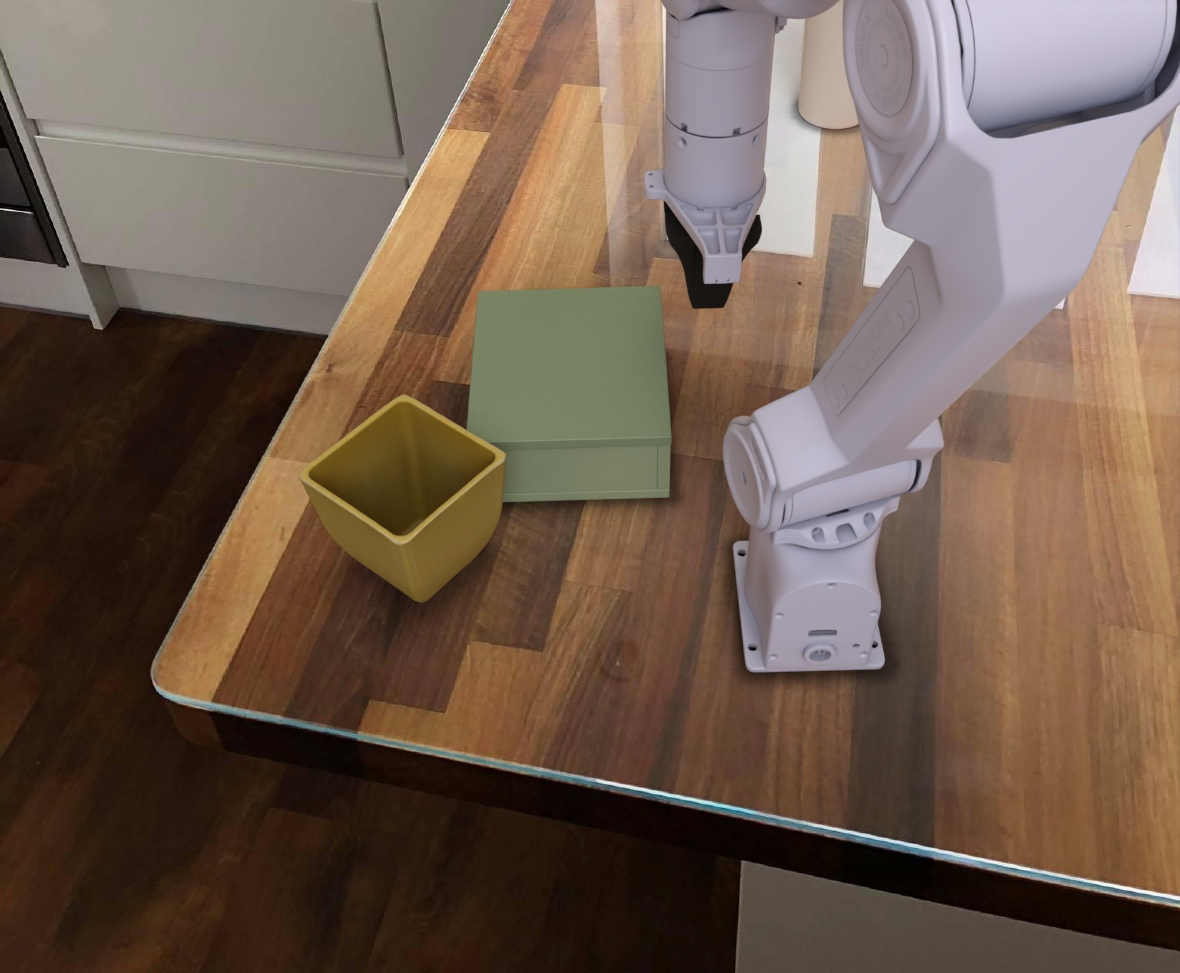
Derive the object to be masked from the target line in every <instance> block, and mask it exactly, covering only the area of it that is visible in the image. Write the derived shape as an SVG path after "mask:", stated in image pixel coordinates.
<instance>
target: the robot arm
mask: <svg viewBox="0 0 1180 973" xmlns="http://www.w3.org/2000/svg"><path fill="white" fill-rule="evenodd" d="M660 1H661V4H662V6H663V7H664V9H665V65H664V66H665V68H664V71H665V72H664V73H665V75H664V76H665V77H664V145H663V146H664V148H663V150H664V152H663V153H664V154H663V156H664V157H663V158H664V159H663V168H660V169H651V170H647V171H645V173H644V174H643V191H644V196H645V198H646V199H648V200H652V201H656V200H657V201H658V200H659V201H663V213H664V223H665V224H664V225H665V226H664V227H665V235H666V238H667V240H668V242H669V245H670V247H671V248H672V249H673V250H674V252H675V253H676V255H677V257H678V258H679V261H680V264H681V266H682V269H683V274H684V280H685V284H686V285H685V286H686V291H687V296H688V300H689V303H690V305H691V308H692V309H694V310H704V309H705V310H706V309H707V310H709V309H723V308H725V307H726V304H727V302H728V300H729V297H730V295H731V292H732V289H733V286H734V284H739V283H741V277H742V276H741V275H742V263H743V262H744V261H745V259H746V257H747V256H748V254H749V253H750V252H751V251H752V250H753V249H754V248H755V247H756V246H757V245H758V244H759V242H760V240H761V237H762V234H763V225H762V219H761V218H762V217H761V214H758V212H759V210H760V207H761V205H762V202H763V200H764V198H765V196H766V190H767V174H766V171H765V165H766V164H765V162H766V151H767V139H768V126H769V113H770V102H771V91H772V90H771V88H772V78H773V77H772V76H773V65H774V52H775V41H776V35H778V34H779V33H781V31H782V32H783V31H784V29H785V26H787V24H788V20H789V19H790V20H805V19H806V18H811V17H814V16H817V15H819V14H821V13H823V12H825V11H827V10H828V9H830V8H831V7H833V6H834V5H835V4H836V3H838V2H839V1H840V0H660ZM842 32H843V57H844V65H845V72H846V77H847V81H848V86H849V89H850V93H851V96H852V99H853V101H854V105H855V110H856V114H857V119H858V123H859V124H858V128H859V131H860V136H861V141H862V146H863V150H864V154H865V159H866V164H867V167H868V168H867V169H868V173H869V178H870V182H871V186H872V189H873V191H874V194H875V196H876V199H877V203H878V208H879V213H880V217H881V220H882V224H883V226H884V227H885V228H886V229H888V230H891V231H893V232H895V233H896V234H897V233H898V234H899V235H903V236H904V237H907V238H909V239H912V240H913V241H912V243H911V244H910V246H909V247H908V248H907V250H906V251H905V252H904V254H903V255H902V257H901V258H900V259H899V260H898V262H897V263H896V264H895V266H894V267H893V269H892V270H891V272H890V273H889V274H888V275H887V277H886V278H885V280H884V281H883V283H882V284H881V286H880V287H879V288H878V289H877V290H876V292H875V294H874V295H873V296H872V298H871V299H870V300H869V301H868V303H867V304H866V306H865V307H864V309H862V311H861V313H860V314H859V315H858V317H857V319H856V320H855V321H854V323H852V325H851V327H850V328H849V329H848V331H847V332H846V334H844V336H843V338H842V339H841V340H840V342H839V343H838V345H837V346H836V347H835V348H834V350H833V352H832V353H831V354H830V355H829V357H828V359H827V360H826V361H825V362H824V364H823V365H822V367H821V368H820V369H819V371H818V372H817V374H816V375H815V376H814V378H813V379H812V380H811V382H810V383H809V384H806V385H805V386H803V387H801V388H799V389H797V390H795V391H792V392H790V393H788V394H786V395H783V396H782V397H780V398H777V399H776V400H774V401H772V402H770V403H769V402H768V404H765V405H763V406H761V407H759V408H757V409H756V410H754V411H753V412H752V413H751V415H740V416H736V417H734V418H733V419H731V421H730V422H729V424H728V426H727V429H726V432H725V434H724V436H723V438H722V461H723V462H722V463H723V469H724V473H725V474H724V475H725V478H726V481H727V485H728V488H729V489H728V490H729V491H730V495H731V497H732V499H733V502H734V504H735V507H736V508H737V510H738V512H739V514H740V515H741V517H742V518H743V520H744V521H745V522H746V523H747V524H748V525H749V535H748V540H737V541H735V542H734V543H733V545H732V556H733V566H734V575H735V584H736V593H737V602H738V612H739V620H740V629H741V640H742V649H743V658H744V666H745V668H746V670H747V671H749V672H750V673H782V672H783V673H785V672H787V673H788V672H822V671H823V672H824V671H825V672H826V671H860V670H861V671H863V670H864V671H865V670H866V671H867V670H881V669H882V668H883V667H884V665H885V662H886V657H885V653H884V647H883V642H882V637H881V633H880V628H879V618H880V616H881V615H880V614H881V611H882V610H881V609H882V598H881V593H880V588H879V582H878V579H877V578H878V577H877V570H876V554H877V548H878V544H879V541H880V540H879V539H880V535H881V530H882V527H883V522H884V518H886V517H887V516H888V515H890V514H891V513H894V512H897V511H898V509H899V504H900V500H901V496H902V495H906V494H913V493H916V492H919V491H920V490H922V489H923V488H924V487H925V485H926V484H927V481H928V479H929V475H930V472H931V470H932V466H933V460H934V458H935V456H936V455H937V454H938V453H939V452H940V451H941V450H942V449H943V448H944V447H945V441H944V436H943V431H942V428H941V424H940V423H941V422H940V421H939V417H940V416H941V415H942V414H943V413H944V412H945V411H946V410H948V409H949V408H950V407H951V406H952V405H953V404H954V403H955V402H956V401H957V400H958V399H959V398H960V397H961V396H962V395H964V394H965V393H966V392H967V391H968V390H969V389H970V388H971V387H972V386H973V385H974V384H975V383H977V381H978V380H979V379H981V378H982V376H984V375H985V374H986V373H987V372H988V371H989V370H990V369H991V368H992V367H993V366H995V364H996V363H998V362H999V361H1000V360H1001V359H1002V358H1003V357H1004V356H1005V355H1006V354H1007V353H1008V352H1009V351H1010V350H1011V349H1012V348H1013V347H1014V346H1016V345H1017V344H1018V343H1019V342H1020V341H1021V340H1022V339H1023V338H1024V337H1025V336H1026V335H1027V334H1028V333H1030V331H1032V330H1033V329H1034V328H1035V327H1036V326H1037V325H1038V324H1039V323H1040V322H1041V321H1042V320H1044V318H1045V317H1046V316H1047V315H1049V314H1050V313H1051V312H1052V311H1053V310H1054V309H1055V308H1056V307H1057V306H1058V305H1059V304H1061V303H1062V302H1063V300H1065V299H1066V298H1067V297H1068V296H1069V295H1070V294H1071V293H1072V292H1074V290H1075V289H1076V288H1077V287H1078V285H1079V284H1080V282H1081V281H1082V280H1083V278H1084V277H1085V276H1086V274H1087V271H1088V270H1089V267H1090V265H1091V263H1092V260H1093V259H1094V256H1095V254H1096V251H1097V249H1098V246H1099V244H1100V241H1101V239H1102V236H1103V234H1104V232H1105V230H1106V227H1107V225H1108V223H1109V220H1110V218H1111V215H1112V213H1113V210H1114V208H1115V206H1116V203H1117V201H1118V198H1119V197H1120V195H1121V194H1120V193H1121V191H1122V190H1123V186H1124V185H1125V182H1126V179H1127V177H1128V176H1129V172H1130V170H1131V168H1132V165H1133V163H1134V161H1135V158H1136V156H1137V153H1138V151H1139V149H1140V147H1141V146H1142V145H1143V144H1144V143H1145V142H1146V141H1147V140H1148V139H1149V138H1150V136H1152V134H1154V132H1156V130H1157V129H1158V128H1159V127H1160V126H1161V125H1162V124H1163V123H1164V122H1165V121H1166V120H1167V118H1168V117H1169V116H1170V115H1171V114H1172V113H1173V112H1174V111H1176V109H1177V108H1178V107H1179V106H1180V0H843V16H842ZM873 645H874V646H875V647H873ZM750 648H754V649H755V650H751V649H750Z"/></svg>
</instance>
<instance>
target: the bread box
mask: <svg viewBox="0 0 1180 973" xmlns="http://www.w3.org/2000/svg"><path fill="white" fill-rule="evenodd" d="M671 445H672V444H671ZM671 445H659V446H625V447H591V448H557V449H524V450H502V451H503V452H504V453H505V454H506V464H505V481H504V494H503V503H522V502H525V503H526V502H557V501H558V502H560V501H593V500H595V501H596V500H628V499H631V500H632V499H666V498H670V494H671V492H670V491H671V489H670V488H671V447H672V446H671Z"/></svg>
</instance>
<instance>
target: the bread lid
mask: <svg viewBox="0 0 1180 973" xmlns="http://www.w3.org/2000/svg"><path fill="white" fill-rule="evenodd" d="M475 308H476V309H475V320H474V321H475V322H474V332H473V344H472V355H471V370H470V379H469V392H468V405H467V416H466V430H467V431H469V432H471V433H472V434H474V435H476V436H478V437H480V438H481V439H483V440H485V441H486V442H488V443H490V444H492V445H493V446H495V447H497V448H499V449H500V450H524V449H557V448H591V447H625V446H659V445H672V437H673V436H672V424H671V408H670V395H669V394H670V393H669V381H668V380H669V379H668V370H667V369H668V367H667V354H666V353H667V352H666V340H665V338H666V336H665V326H664V323H665V322H664V310H663V298H662V286H661V285H660V284H659V285H632V286H605V287H604V286H602V287H600V286H599V287H573V288H572V287H569V288H566V287H565V288H540V289H538V288H537V289H535V288H534V289H507V290H506V289H505V290H479V291H477V297H476V307H475Z"/></svg>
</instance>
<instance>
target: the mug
mask: <svg viewBox="0 0 1180 973" xmlns="http://www.w3.org/2000/svg"><path fill="white" fill-rule="evenodd" d="M842 16H843V0H840V1H839V2H838V3H836V4H835V5H834V6H833V7H831V8H830V9H828V10H827V11H825V12H823V13H821V14H819V15H817V16H814V17H811V18H806V19H804V28H803V30H804V31H803V42H802V55H801V66H800V77H799V94H798V112H799V115H800V116H801V117H802V118H803V120H805V121H806V122H808V123H809V124H811V125H813V126H816V127H819V128H823V129H829V130H842V129H844V130H845V129H848V128H852V127H855V126H859V123H858V119H857V114H856V110H855V105H854V101H853V99H852V96H851V93H850V89H849V86H848V81H847V77H846V72H845V65H844V57H843V32H842Z"/></svg>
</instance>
